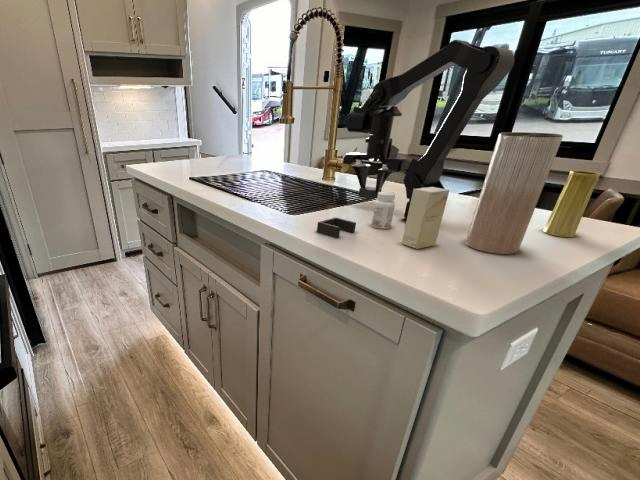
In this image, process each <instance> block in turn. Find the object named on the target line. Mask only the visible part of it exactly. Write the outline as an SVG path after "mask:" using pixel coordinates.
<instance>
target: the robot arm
mask: <svg viewBox="0 0 640 480" xmlns="http://www.w3.org/2000/svg"><path fill="white" fill-rule="evenodd" d="M514 65H515V56H514V53H513V51H512V50H511V49H510V48H505V47H499V46H493V45H488V46H484V47H483V46H479V45H475V44H473V43H470V42H469V41H467V40H461V39H454V40H451V41H450V42H448V43H447V44H446V45H445V46H444V47H442V48H441V49H439V50H438V51H436V52H435V53H433V54H431V55H430V56H428V57H426V58H424V59H423V60H422V61H420V62H419V63H417V64H416V65H414V66H413V67H411V68H409V69H408V70H406V71H405V72H403V73H401V74H398V75H396V76H392V77H388V78H386V79H383V80H381V81H379V82H377V83H376V84H374V86H373V87H372V90H371V93H370V94H369V96H368V97H367V99H366V100H365V102H364V104H363V105H362V106H353V108H352V111H351V112H350V114H349V115H348V117H347V119H346V121H345V123H346V124H345V125H346V130H347V131H348V132H349V133H354V134H368V137H367V138H365V141H364V142H365V143H366V144H367V145H366V151H365V153H362V152H361V153H360V152H348V153H345V154H344V155H343V157H342V164H343V165H351V168H352V169H353V170H354V172H355V174H356V177H357V180H358V183H359V186H360V187H359V188H364V187H367V186H366V185H367V179H368V173H369V170H370V168H371V167H372V165H377V166H381V168H379V169H377V172H376V182H375V188H376V193H379V192H380V190H381V189H382V188H383V186H384V185H385V182H386V181H387V179H388V178H389V177H390V175H391V174H392V173H394V172H397V171H398V172H399V171H400V172H401V171H404V172H403V174H405V175H404V177H403V183H404V187H405V194H406V199H408V201H407V202H406V205H405V209H404V214H403V218H401V221H403V222H406V221H407V216H408V212H409V207H410V203H411V199H412V194H413V189H418V188H427V187H436V188H441V189H446V188H445V186H444V185H443V183H442V182H441V180H440V179H441V177H442V174H443V172H444V165H445V160H446V159H447V157H448V155H449V154H450V152H451V150H452V149H453V147H454V146H455V144H456V143H457V141H458V139H459V138H460V136H461V134H462V133H463V131H464V129H466V127H467V125H468V124H469V122H470V121H471V120H472V119H471V118H472V117H473V116H474V114H475V112H476V111H477V109H478V107H479V106H480V104H481V103H482V101H483V100H484V99H485V98H486V97H487V96H488V95H489V94H490V93H492V92H493V91H494V90H495V89H496V88H498V86H499V85H500V84H501V82H503V80H504V79H505V78H506V77H507V75H508V74H509V73H510V72H511V71H512V69H513V67H514ZM454 66H458V67H461V68H463V69H465V72H464V74H463V79H462V85H461V92H460V94H459V95H458V96H457V99H456V101H455V102H454V104H453V106H452V107H451V109H450V111H449V113H448V115H446V118H445V119H444V121H443V123H442V125H441V126H440V128H439V130H438V131H437V133H436V135H435V137H434V138H433V140H432V142H431V144H430V146H428V148H427V150H426V152H425V154H424V155H423V156H421V157H415V158H414V157H413V158H412V159H411V158H410V157H403V156H398V154H399V151H400V149H399V148H398V147H397V146H395V145H394V144H393V138H391V135H392V129H393V124H394V119H395V117H402V115H403V113H402V112H401V111H400V110H399V108H398V106H397V105H398V104H400V103H401V102H403V101H404V100H405V99H406V98H407V97H408V95H409V94H410V93H411V92H412V91H413V90H414V89H416V88H418V87H419V86H421V85H423V84H424V83H426V82H428V81H430V80H431V79H433V78H434V77H437V76H439V75H440V74H442V73H443V72H445V71H447V70H449V69H450V68H452V67H454ZM352 164H353V165H352ZM381 191H382V190H381Z"/></svg>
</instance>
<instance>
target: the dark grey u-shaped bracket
mask: <svg viewBox="0 0 640 480" xmlns="http://www.w3.org/2000/svg"><path fill="white" fill-rule="evenodd" d="M356 226H357V222H356V221H352V220H348V219H344V218H341V217H336V216H334V217H331V218H327V219H324V220H320V221H317V227H316V233H319V234H322V235H326V236H327V237H328V236H329V237H332V238H335V239H338V238H340V234H341V231H345V232H347V233H352V234H354V233H356Z"/></svg>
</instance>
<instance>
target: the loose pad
mask: <svg viewBox="0 0 640 480" xmlns="http://www.w3.org/2000/svg"><path fill="white" fill-rule="evenodd" d="M380 192H382V188H381V190H380ZM357 197H358V198H363V199H367V200H374V199H377V198H378V193H376V187H372V186H365V187H364V188H361V187H359V190H358V195H357Z"/></svg>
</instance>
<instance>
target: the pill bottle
mask: <svg viewBox="0 0 640 480" xmlns="http://www.w3.org/2000/svg"><path fill="white" fill-rule="evenodd" d="M376 199H377V200H375V202H374V208H373V211H372V212H373V213H372V218H371V226H372V228H375V229H381V230H386V229H390V228H391V226H392V222H393V217H394V212H395V206H396V202H395V199H396V193H395V192H391V191H381V192H379V193H378V198H376Z"/></svg>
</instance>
